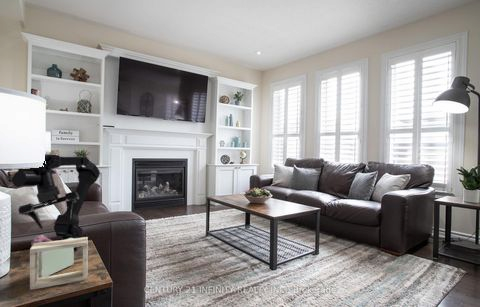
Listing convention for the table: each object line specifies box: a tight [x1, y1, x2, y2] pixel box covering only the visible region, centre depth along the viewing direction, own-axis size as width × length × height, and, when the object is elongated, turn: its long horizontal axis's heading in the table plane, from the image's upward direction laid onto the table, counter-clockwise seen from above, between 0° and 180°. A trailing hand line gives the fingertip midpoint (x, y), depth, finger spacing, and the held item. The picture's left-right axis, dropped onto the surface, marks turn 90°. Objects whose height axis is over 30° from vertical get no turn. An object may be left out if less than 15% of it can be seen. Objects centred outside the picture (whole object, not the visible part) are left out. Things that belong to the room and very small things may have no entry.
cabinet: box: [29, 236, 89, 291], centre depth 91 cm, size 6×16×13 cm, turn 117°
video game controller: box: [31, 234, 53, 247], centre depth 118 cm, size 10×5×7 cm, turn 21°
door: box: [38, 238, 75, 278], centre depth 97 cm, size 3×12×10 cm, turn 162°
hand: (56, 224), depth 102 cm, fingers open, 9 cm apart
